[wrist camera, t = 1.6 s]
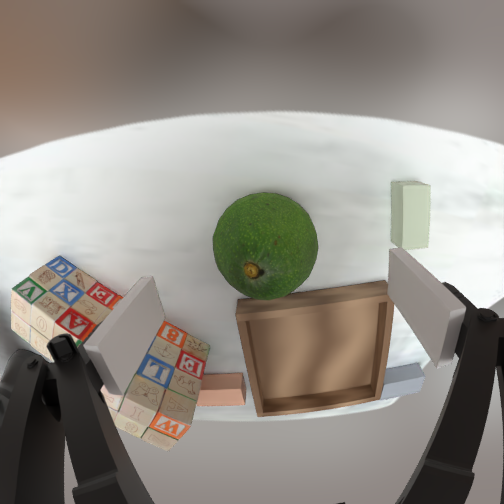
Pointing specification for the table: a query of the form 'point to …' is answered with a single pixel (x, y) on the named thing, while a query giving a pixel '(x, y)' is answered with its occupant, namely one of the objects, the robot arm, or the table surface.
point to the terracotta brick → (222, 390)
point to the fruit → (265, 245)
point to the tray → (316, 347)
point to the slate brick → (402, 381)
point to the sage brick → (410, 214)
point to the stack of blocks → (150, 369)
